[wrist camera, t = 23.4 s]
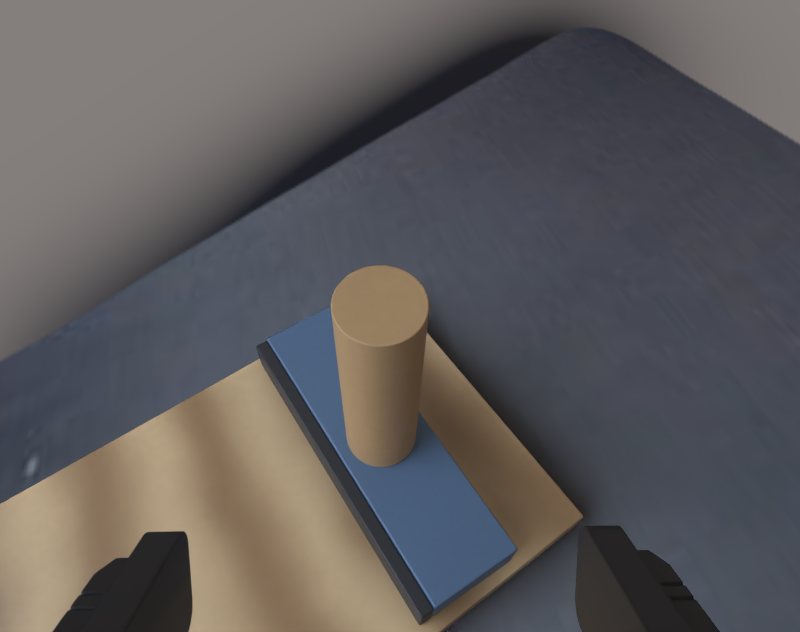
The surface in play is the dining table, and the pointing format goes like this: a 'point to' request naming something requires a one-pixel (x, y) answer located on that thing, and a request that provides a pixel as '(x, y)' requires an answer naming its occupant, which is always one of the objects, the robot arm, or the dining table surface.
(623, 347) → the dining table surface
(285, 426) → the cutting board
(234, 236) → the dining table surface
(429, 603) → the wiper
